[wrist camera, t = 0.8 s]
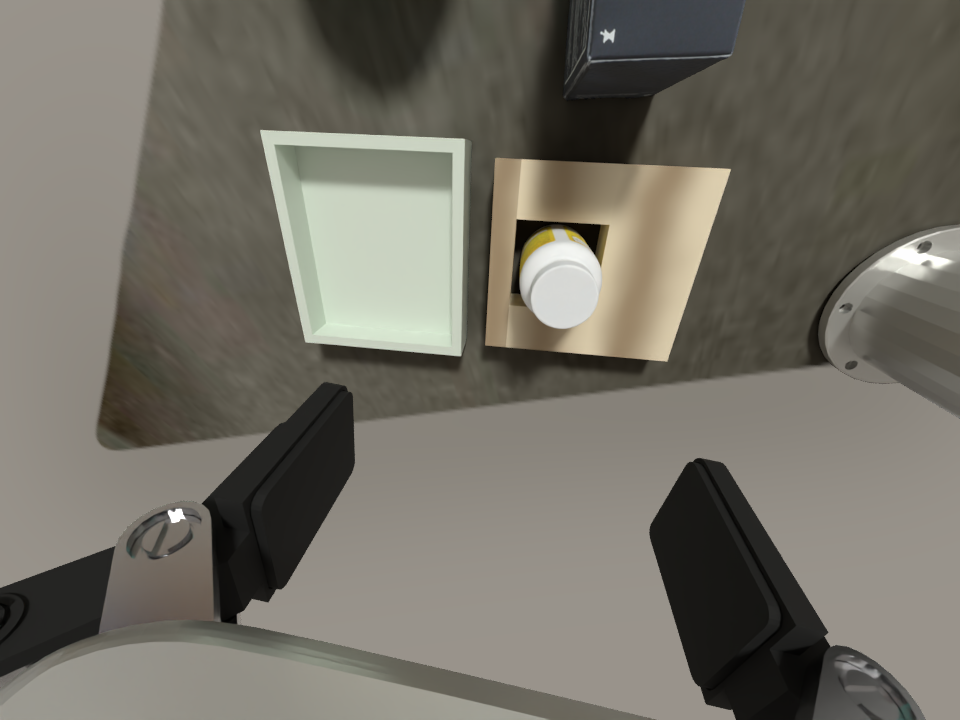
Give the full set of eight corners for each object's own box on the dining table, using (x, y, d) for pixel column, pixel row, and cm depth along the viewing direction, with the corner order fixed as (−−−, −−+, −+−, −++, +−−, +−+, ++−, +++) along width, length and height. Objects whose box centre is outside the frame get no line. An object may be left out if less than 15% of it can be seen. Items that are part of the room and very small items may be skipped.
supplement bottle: (518, 288, 32) (514, 336, 23) (523, 221, 29) (520, 248, 20) (582, 292, 31) (602, 342, 23) (593, 224, 28) (620, 253, 20)
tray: (472, 141, 27) (464, 138, 24) (466, 338, 34) (461, 356, 31) (289, 133, 28) (260, 130, 25) (324, 326, 36) (305, 342, 33)
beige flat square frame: (710, 168, 26) (730, 169, 23) (655, 345, 33) (667, 361, 30) (498, 158, 27) (495, 158, 24) (488, 330, 34) (485, 345, 31)
